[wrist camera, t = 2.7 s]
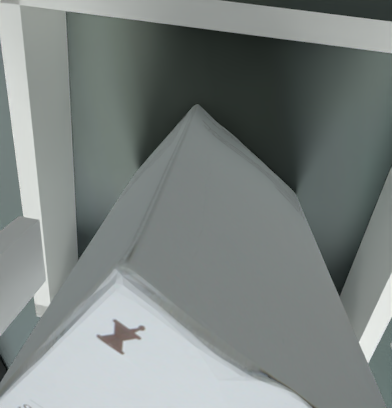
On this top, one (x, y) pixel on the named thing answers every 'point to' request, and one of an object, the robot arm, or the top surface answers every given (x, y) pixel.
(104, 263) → the skincare box
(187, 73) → the top surface
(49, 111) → the bin
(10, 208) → the top surface
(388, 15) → the top surface
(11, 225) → the robot arm
